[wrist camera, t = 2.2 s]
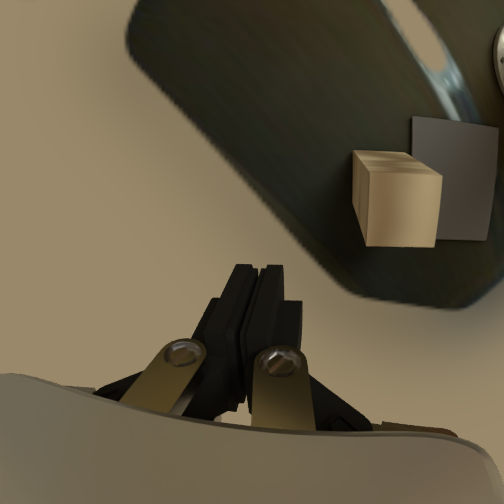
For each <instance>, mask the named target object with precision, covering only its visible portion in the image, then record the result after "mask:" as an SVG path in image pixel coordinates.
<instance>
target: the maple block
mask: <svg viewBox="0 0 504 504" xmlns="http://www.w3.org/2000/svg"><path fill="white" fill-rule="evenodd" d="M442 177H443V176H442V175H440V174H439V173H437V172H435V171H434V170H432V169H431V168H429V167H428V166H426V165H424V164H423V163H421V162H420V161H418V160H416V159H415V158H413V157H411V156H410V155H408V154H406V153H405V152H387V151H363V150H353V196H352V203H353V206H354V209H355V212H356V215H357V218H358V221H359V224H360V227H361V231H362V234H363V237H364V240H365V244H366V246H392V247H434V245H435V239H436V232H437V225H438V217H439V209H440V199H441V189H442Z"/></svg>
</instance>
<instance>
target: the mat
mask: <svg viewBox="0 0 504 504" xmlns="http://www.w3.org/2000/svg"><path fill="white" fill-rule="evenodd" d="M498 140H499V128H495V127H490V126H484V125H478V124H472V123H466V122H459V121H452V120H444V119H436V118H427V117H417V116H412V150H411V157H413V158H415V159H416V160H418V161H420V162H421V163H423V164H424V165H426V166H428V167H429V168H431V169H432V170H434V171H435V172H437V173H439V174H440V175H442V176H443V177H442V189H441V199H440V209H439V217H438V225H437V232H436V239H448V240H480V241H486V239H487V234H488V229H489V223H490V217H491V211H492V204H493V197H494V189H495V180H496V170H497V157H498Z"/></svg>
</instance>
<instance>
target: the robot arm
mask: <svg viewBox="0 0 504 504" xmlns="http://www.w3.org/2000/svg"><path fill="white" fill-rule="evenodd" d="M493 58H494V67H495V72H496V76H497V80H498V83H499V86H500V88H501V91H502V93H503V95H504V24H503V25H502V26H501V27H500V29H499V30H498V32H497V34H496V38H495V41H494V49H493ZM301 336H302V301H290V300H284V272H283V265H267V267H266V269H264V268H262V269H261V271H260V274H259V277H258V269H257V268H253V267H252V265H251V264H236V265H235V268H234V270H233V272H232V274H231V276H230V278H229V280H228V282H227V284H226V286H225V288H224V291H223V292H222V294H221V297H220V298H212V299H211V300H210V303H209V304H208V306H207V308H206V310H205V312H204V314H203V316H202V318H201V320H200V322H199V324H198V326H197V328H196V330H195V332H194V333H193V335H192V337H191V339H189V338H185V339H178V340H175V341H172V342H170V343H168V344H167V345H165V346H164V347H163V348H162V349H161V350H160V352H159V353H158V354H157V355H156V356H155V358H154V359H153V360H152V362H151V363H150V364H149V365H148V366H147V368H146V369H145V370H144V371H141V372H139V373H137V374H134V375H131V376H129V377H126V378H124V379H121V380H118V381H116V382H114V383H111V384H108V385H105V386H104V387H102V388H100V389H99V390H97V391H96V390H95V388H88V387H74V386H63V385H60V384H57V383H53V382H50V381H47V380H43V379H40V378H37V377H32V376H27V375H23V374H14V373H9V374H0V504H504V485H503V482H502V479H501V476H500V473H499V471H498V469H497V466H496V464H495V463H494V461H493V459H492V458H491V456H490V455H489V454H488V453H487V452H486V451H485V450H484V449H483V448H482V447H480V446H479V445H477V444H475V443H472V442H470V441H468V440H464V439H462V438H458V436H457V435H456V434H455V433H454V432H452V431H451V430H448V429H443V428H434V427H422V426H414V425H406V424H398V423H391V422H384V421H382V424H381V425H379V424H372V423H370V421H369V420H368V419H367V418H365V416H364V415H362V414H361V413H360V412H358V411H357V410H356V409H354V408H353V407H352V406H350V405H349V404H348V403H346V402H345V401H344V400H342V399H341V398H339V397H338V396H337V395H335V394H334V393H333V392H331V391H330V390H329V389H327V388H326V387H325V386H324V385H322V384H321V383H320V382H318V381H317V380H316V379H315V378H313V377H312V376H311V375H310V374H309V373H308V365H307V360H306V357H305V355H304V354H303V353H302V352H301V351H300V348H301ZM246 395H247V401H248V408H249V413H250V414H251V415H252V419H251V426H244V425H237V424H228V423H222V422H221V414H223V413H225V412H227V411H233V412H236V411H237V408H238V404H239V403H244V402H245V399H246Z"/></svg>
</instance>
